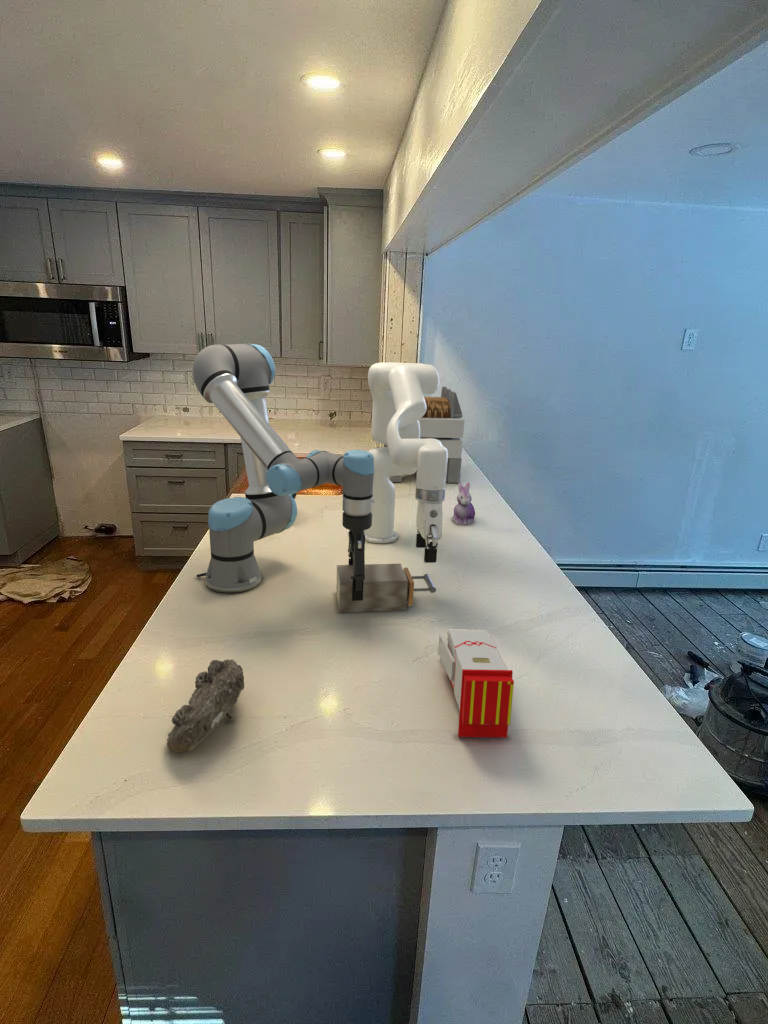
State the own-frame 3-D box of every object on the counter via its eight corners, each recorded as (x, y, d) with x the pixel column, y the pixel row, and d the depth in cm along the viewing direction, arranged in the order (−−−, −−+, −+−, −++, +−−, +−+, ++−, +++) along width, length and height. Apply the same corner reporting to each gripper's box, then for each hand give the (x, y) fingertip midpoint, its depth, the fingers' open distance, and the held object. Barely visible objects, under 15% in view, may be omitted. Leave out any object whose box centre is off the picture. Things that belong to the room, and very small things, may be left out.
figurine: (460, 527, 208) (464, 488, 203) (445, 518, 217) (448, 480, 212) (481, 523, 212) (485, 485, 207) (465, 515, 221) (469, 478, 216)
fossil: (192, 660, 117) (244, 628, 112) (224, 691, 120) (276, 661, 115) (142, 746, 98) (202, 712, 93) (182, 779, 101) (242, 748, 96)
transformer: (382, 463, 289) (386, 382, 275) (445, 464, 293) (451, 384, 279) (390, 482, 257) (394, 392, 243) (460, 483, 261) (468, 394, 247)
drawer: (427, 588, 160) (429, 566, 157) (435, 604, 151) (437, 581, 149) (347, 591, 156) (348, 568, 154) (351, 607, 148) (351, 584, 145)
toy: (488, 613, 130) (523, 677, 101) (484, 667, 133) (517, 744, 104) (435, 612, 130) (455, 676, 101) (432, 666, 133) (451, 743, 103)
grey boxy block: (399, 591, 159) (400, 563, 156) (405, 610, 150) (407, 580, 147) (336, 593, 156) (336, 565, 153) (339, 612, 147) (339, 582, 144)
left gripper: (378, 528, 134) (375, 610, 141) (366, 497, 155) (364, 570, 162) (346, 528, 132) (344, 612, 140) (339, 497, 154) (337, 571, 161)
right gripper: (453, 504, 138) (447, 568, 144) (436, 483, 154) (431, 541, 160) (423, 504, 137) (419, 569, 142) (409, 483, 153) (405, 542, 158)
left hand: (355, 589), depth 151 cm, fingers closed on grey boxy block, 10 cm apart
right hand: (425, 554), depth 151 cm, fingers open, 9 cm apart
